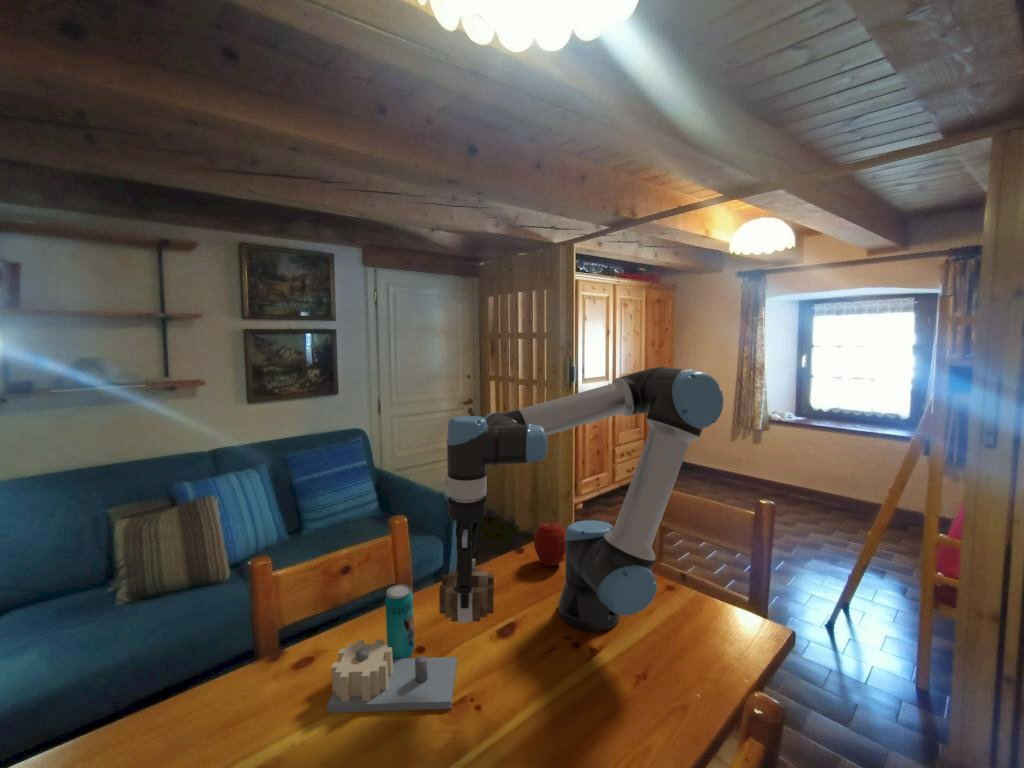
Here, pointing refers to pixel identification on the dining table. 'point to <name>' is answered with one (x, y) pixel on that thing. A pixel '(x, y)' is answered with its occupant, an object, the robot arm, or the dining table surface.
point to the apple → (550, 543)
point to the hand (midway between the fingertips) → (466, 604)
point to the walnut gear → (480, 595)
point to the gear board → (389, 680)
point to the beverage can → (400, 621)
